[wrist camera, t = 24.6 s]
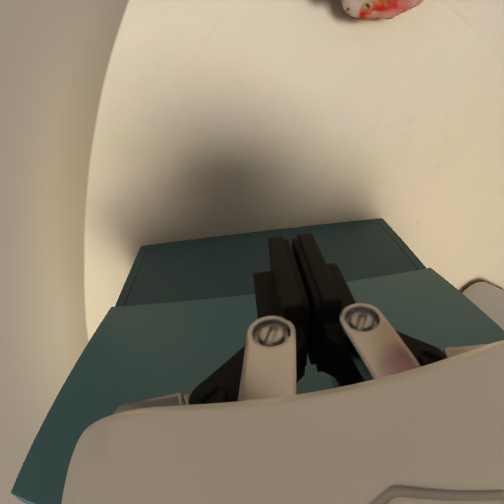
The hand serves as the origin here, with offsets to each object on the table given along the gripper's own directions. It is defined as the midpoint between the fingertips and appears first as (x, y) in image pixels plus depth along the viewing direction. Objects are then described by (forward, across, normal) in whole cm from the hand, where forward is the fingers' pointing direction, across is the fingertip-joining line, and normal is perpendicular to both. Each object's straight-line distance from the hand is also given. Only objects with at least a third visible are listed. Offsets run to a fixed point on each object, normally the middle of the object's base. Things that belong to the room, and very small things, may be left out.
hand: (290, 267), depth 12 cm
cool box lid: (-2, 0, +5) cm, 5 cm away
